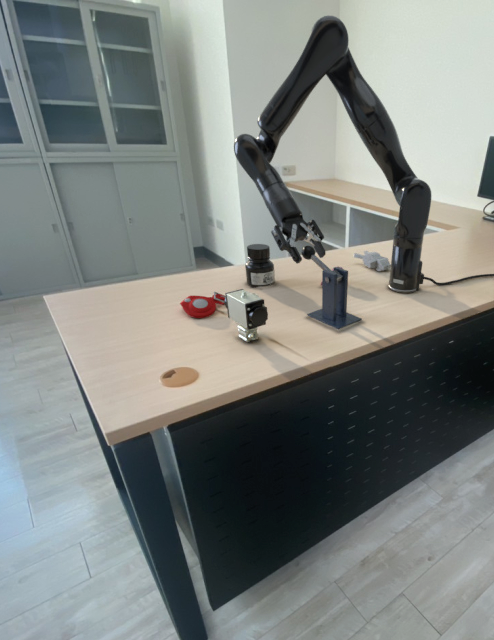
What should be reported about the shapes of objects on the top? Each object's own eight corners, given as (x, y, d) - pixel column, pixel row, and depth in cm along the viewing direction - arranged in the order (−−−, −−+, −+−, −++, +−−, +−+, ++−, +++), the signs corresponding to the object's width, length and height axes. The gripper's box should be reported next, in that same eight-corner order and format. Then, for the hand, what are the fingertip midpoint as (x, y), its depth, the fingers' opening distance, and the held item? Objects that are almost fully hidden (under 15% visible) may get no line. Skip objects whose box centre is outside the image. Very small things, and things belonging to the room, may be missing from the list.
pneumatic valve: (254, 350, 94) (249, 301, 88) (227, 333, 101) (221, 286, 94) (273, 343, 97) (270, 295, 91) (246, 327, 104) (242, 282, 98)
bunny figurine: (379, 263, 143) (351, 248, 152) (376, 276, 147) (349, 261, 155) (397, 259, 149) (369, 245, 157) (394, 272, 152) (367, 258, 160)
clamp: (307, 317, 111) (306, 268, 103) (330, 309, 117) (331, 261, 109) (338, 332, 104) (339, 280, 97) (361, 322, 110) (364, 273, 103)
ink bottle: (254, 291, 126) (251, 252, 119) (241, 283, 131) (237, 245, 125) (281, 285, 131) (279, 247, 125) (267, 277, 137) (264, 241, 130)
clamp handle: (297, 255, 108) (300, 244, 105) (307, 253, 110) (310, 241, 108) (331, 287, 104) (335, 276, 101) (341, 284, 106) (345, 273, 103)
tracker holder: (205, 317, 105) (171, 303, 106) (206, 329, 108) (174, 315, 109) (231, 292, 113) (199, 279, 114) (231, 304, 116) (201, 291, 117)
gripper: (265, 199, 100) (297, 255, 100) (308, 194, 109) (337, 246, 109) (254, 217, 106) (284, 271, 106) (296, 212, 115) (324, 261, 115)
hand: (311, 258), depth 107 cm, fingers open, 8 cm apart
